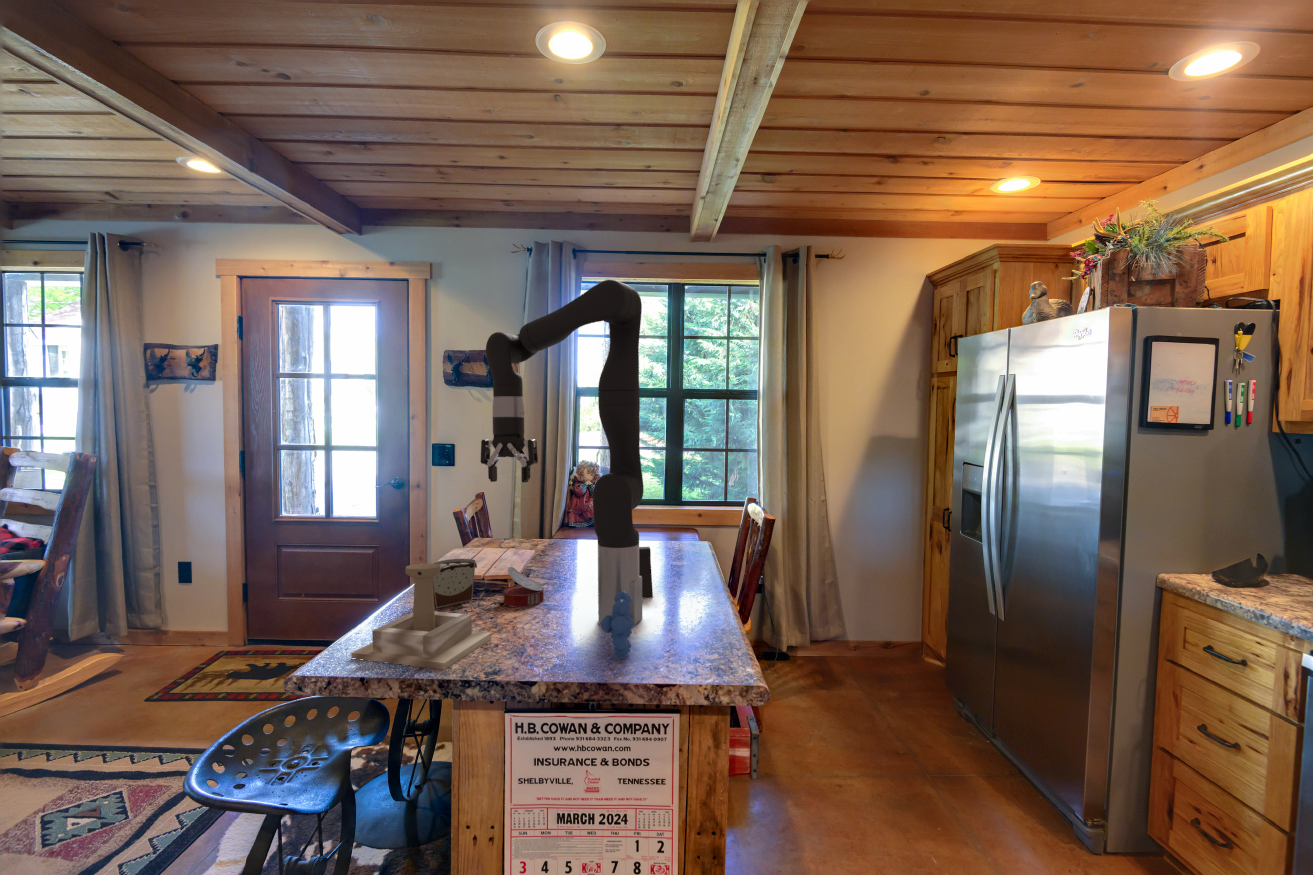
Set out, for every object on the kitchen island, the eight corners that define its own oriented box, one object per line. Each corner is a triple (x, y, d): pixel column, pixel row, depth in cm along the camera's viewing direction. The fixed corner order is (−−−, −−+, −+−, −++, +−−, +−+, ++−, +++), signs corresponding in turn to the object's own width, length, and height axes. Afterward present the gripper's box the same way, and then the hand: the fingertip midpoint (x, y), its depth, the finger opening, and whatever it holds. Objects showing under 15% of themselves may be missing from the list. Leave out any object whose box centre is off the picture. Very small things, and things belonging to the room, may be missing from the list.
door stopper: (652, 597, 152) (652, 550, 152) (629, 599, 151) (628, 551, 151) (647, 588, 161) (647, 543, 160) (625, 589, 160) (624, 544, 159)
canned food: (520, 613, 155) (530, 575, 159) (548, 616, 149) (558, 576, 153) (487, 602, 147) (499, 562, 151) (515, 604, 141) (526, 563, 145)
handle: (437, 645, 116) (436, 568, 116) (403, 647, 115) (402, 569, 115) (444, 636, 121) (443, 562, 121) (411, 638, 120) (410, 563, 120)
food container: (466, 594, 156) (465, 555, 156) (477, 598, 152) (477, 559, 152) (419, 604, 147) (418, 563, 147) (430, 609, 143) (429, 567, 143)
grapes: (603, 643, 120) (602, 584, 120) (636, 643, 120) (636, 584, 120) (595, 667, 108) (595, 601, 108) (633, 667, 108) (632, 601, 108)
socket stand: (491, 638, 123) (490, 613, 123) (444, 669, 108) (444, 640, 108) (407, 630, 128) (407, 606, 128) (351, 659, 113) (350, 631, 113)
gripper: (474, 415, 145) (475, 482, 145) (527, 415, 141) (528, 483, 141) (490, 416, 152) (491, 480, 152) (541, 415, 148) (542, 480, 149)
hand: (509, 481), depth 147 cm, fingers open, 8 cm apart
